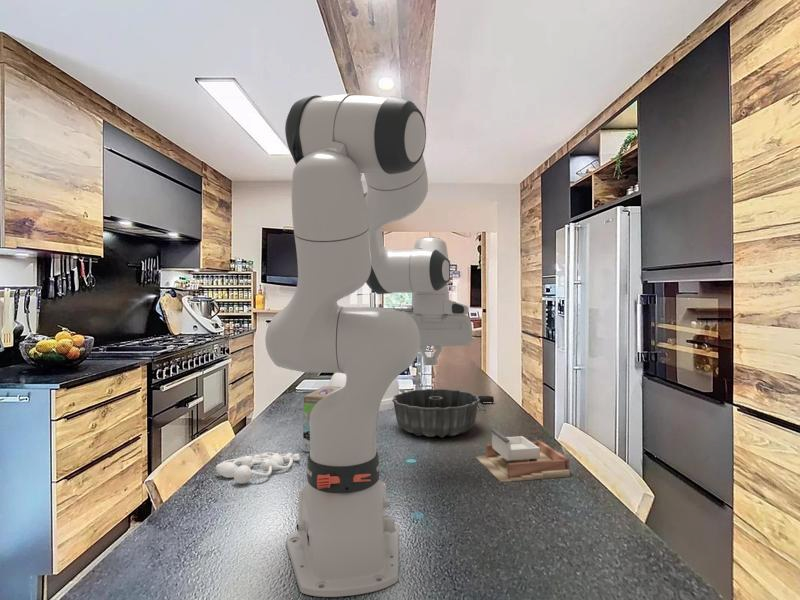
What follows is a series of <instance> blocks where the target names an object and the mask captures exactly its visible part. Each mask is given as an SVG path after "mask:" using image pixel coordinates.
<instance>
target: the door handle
mask: <svg viewBox="0 0 800 600" xmlns="http://www.w3.org/2000/svg"><path fill="white" fill-rule="evenodd" d="M478 396H479V399H480V402H479V403H478V408H479V409H480V410H481V411H486V412H487V410H486V409H487V408H485V406H484V404H483V402H494V403H495V399H494V396H492V395H478Z"/></svg>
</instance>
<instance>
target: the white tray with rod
mask: <svg viewBox="0 0 800 600" xmlns="http://www.w3.org/2000/svg"><path fill="white" fill-rule="evenodd" d="M489 431H490V432H491V444H492V448H493V449H494V450H495V454H496V455H498V456H499V455H501V456H502V457H504V458H505V459H506V460H507V461H506V462H507V464H508V463H514V460H524V459H529V462H531V461H537V459H538V458H540V448H539V447H538V446H536V445H535V444H533V443H532V442H533V441H530V440H529V439H528V438H526V437H524V436H523V435H522V436H521V435H520V436H505V435H503V434H502V433H500V431H499V430H496V429H495V428H494V427H491V428H490V429H489Z"/></svg>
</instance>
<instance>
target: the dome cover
mask: <svg viewBox="0 0 800 600" xmlns="http://www.w3.org/2000/svg"><path fill="white" fill-rule="evenodd" d="M345 385H346V374H344V373H333V374H332V377H331V378H330V380H329V384H328V386H334V387H345ZM399 386H400V385H399V383H398V378H397V377H396V378H395V379H394V380H393V382H392V383H391V384H390V385H389V387H388V388H387V390H386V392H385V394H384V396H383V398H382V400H381V403H380V406H379V411H378V413H379V412H384V411H383V410H385V411H389V410H388V409H390V410H393V409H392V408H394V409H395V407H394V402H392V399H393V397H394V396H395V395H397V394H401V393H402V391H400V387H399Z"/></svg>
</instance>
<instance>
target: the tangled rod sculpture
mask: <svg viewBox="0 0 800 600" xmlns="http://www.w3.org/2000/svg"><path fill="white" fill-rule="evenodd" d="M300 460H301V458H300V453H292V452H288V453H283V454H279V453H278V452H275V453H274V452H269V451H268V452H263V453H261V454H254V455H244V456H241V457H237V458H233V459H227V460H222V462H220V463H218V464H216V467H215V470H216V472H217V473H218V474H219V475H221V476H223V477H224V478H227V479H232V478H233V479H234V481H235V482H236V483H238V484H241V485H242V484H246V483H248V482H249V481H250V480H251V479H252V476H258V477H264V478H265V477H269V476H270V475H271V474H272V471H279V470H288V469H290V468H291V466H292V465H293V461H294V462H297V461H300ZM285 462H286V463H288V464H287V465H284V464H285ZM237 463H240V466H238V465H237ZM255 464H257V465H259V464H260V467H259V468H260V469H261V470H262V471H263V472H260V471H255V470H252V469H251V468H252V467H253V465H255ZM264 472H265V473H264Z"/></svg>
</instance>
